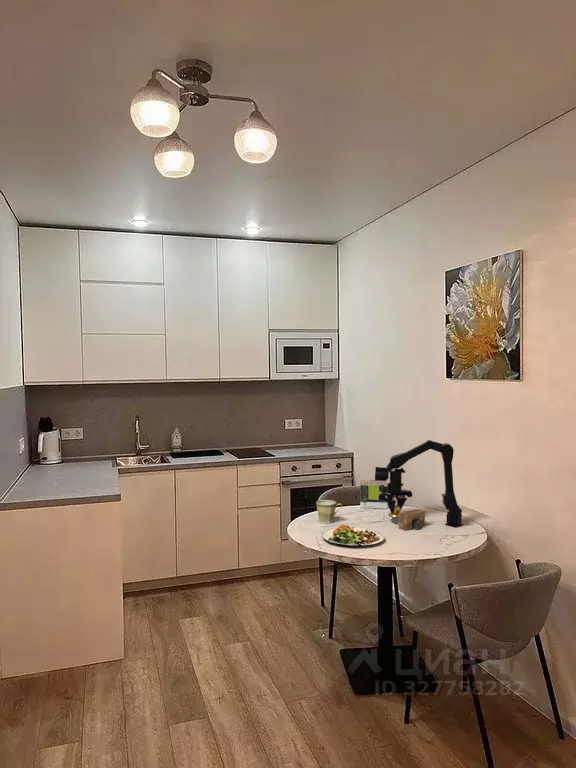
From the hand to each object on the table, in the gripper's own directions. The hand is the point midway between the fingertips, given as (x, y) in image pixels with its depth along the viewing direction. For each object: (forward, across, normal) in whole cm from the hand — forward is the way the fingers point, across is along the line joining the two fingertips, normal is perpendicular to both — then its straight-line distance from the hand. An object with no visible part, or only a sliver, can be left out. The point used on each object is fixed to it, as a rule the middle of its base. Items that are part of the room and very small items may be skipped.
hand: (395, 512), depth 282 cm
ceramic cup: (+5, +26, -20) cm, 33 cm away
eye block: (+5, 0, +10) cm, 12 cm away
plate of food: (+6, +36, +8) cm, 37 cm away
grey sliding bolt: (+5, 0, +6) cm, 8 cm away
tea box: (+5, -15, -30) cm, 34 cm away
